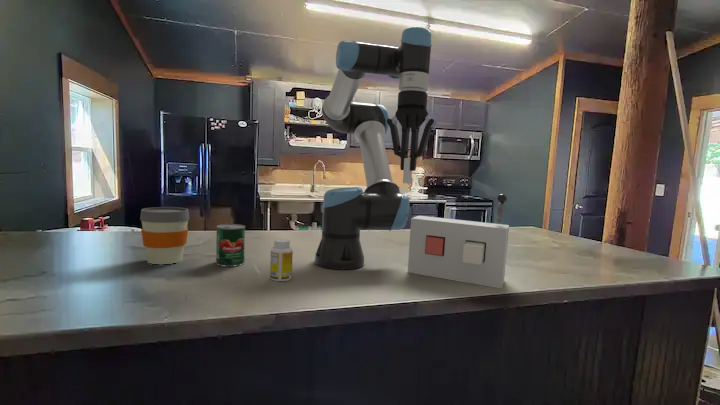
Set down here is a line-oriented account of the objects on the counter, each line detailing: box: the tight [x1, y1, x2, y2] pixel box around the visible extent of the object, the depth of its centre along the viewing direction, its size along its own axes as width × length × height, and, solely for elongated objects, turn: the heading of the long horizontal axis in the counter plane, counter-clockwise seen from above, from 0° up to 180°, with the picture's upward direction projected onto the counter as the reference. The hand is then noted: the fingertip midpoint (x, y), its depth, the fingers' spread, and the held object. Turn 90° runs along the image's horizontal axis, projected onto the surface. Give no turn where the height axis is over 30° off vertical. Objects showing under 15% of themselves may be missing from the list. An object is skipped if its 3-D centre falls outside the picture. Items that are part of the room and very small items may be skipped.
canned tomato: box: [215, 223, 246, 267], centre depth 112 cm, size 8×8×11 cm
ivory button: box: [462, 241, 485, 265], centre depth 103 cm, size 5×6×5 cm
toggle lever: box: [495, 193, 508, 224], centre depth 107 cm, size 3×3×9 cm
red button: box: [426, 235, 445, 255], centre depth 111 cm, size 5×6×5 cm
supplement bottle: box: [269, 238, 294, 282], centre depth 100 cm, size 6×6×10 cm
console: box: [407, 215, 510, 289], centre depth 110 cm, size 26×8×16 cm, turn 65°
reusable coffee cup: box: [139, 206, 190, 265], centre depth 111 cm, size 13×13×15 cm
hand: (407, 183), depth 102 cm, fingers closed
